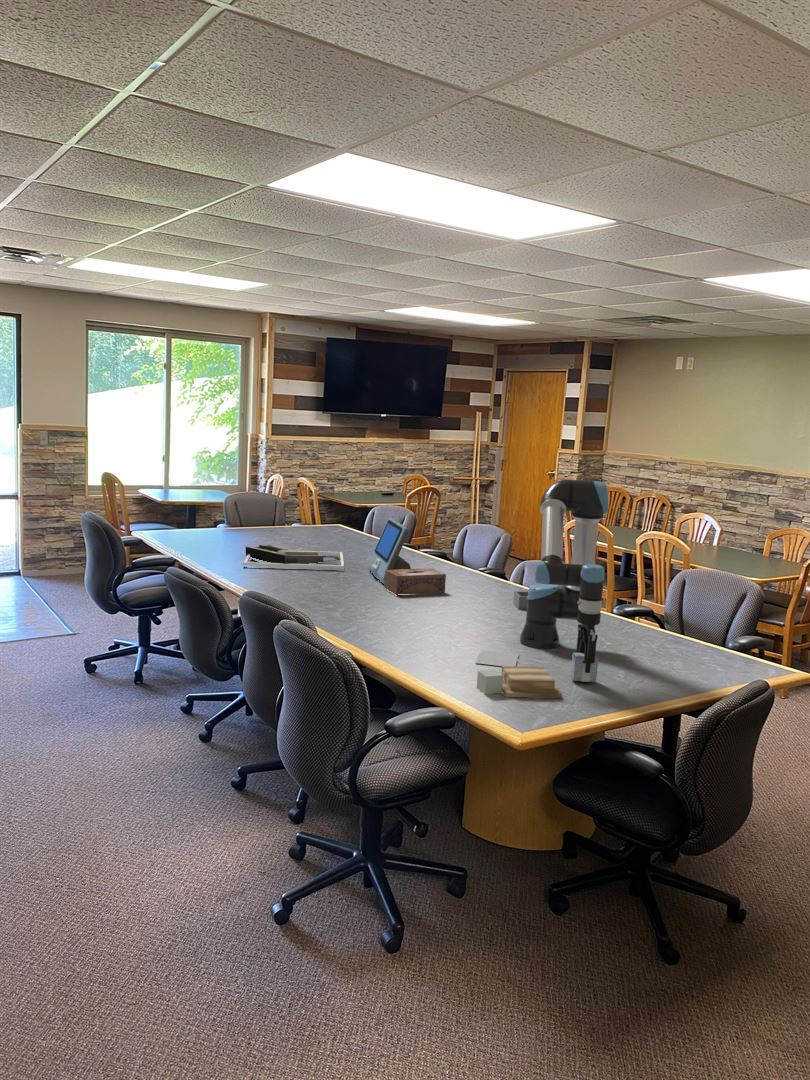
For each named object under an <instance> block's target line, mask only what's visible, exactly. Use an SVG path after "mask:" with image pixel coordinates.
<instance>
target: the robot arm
mask: <svg viewBox="0 0 810 1080" xmlns="http://www.w3.org/2000/svg"><path fill="white" fill-rule="evenodd" d="M539 504H540V505H539V511H540V513H541V514H542V522H541V524H542V525H541V526H542V527H541V549H540V550H541V554H540V555H541V557H540V561H537V562H536V563H535V567H534V582H535V583H537V584H532V585H533V586H531V585H530V586H531V587H530V586H529V587H528V591H527V592H528V597H527V599H528V604H527V610H526V614H525V615H526V617H525V618H526V619H525V623H524V625H523V628H522V631H521V633H520V636H519V642H520V644H522V645H524V646H527V647H531V648H536V649H538V648H539V649H554V648H557V647H559V645H560V636H559V632H558V631H559V630H558V628H557V619H559V620H572V621H577V622H578V624H577V641H576V649H575V650H576V651H575V653H584V661H582V663H583V669H582V680H581V681H580V682H582V683H584V682H586V683H587V682H589V683H590V682H591V681H590V676H591V665H592V663H594V662H595V654H596V651H597V642H598V641H597V640H598V635H597V634H596V629H595V626H598V625H600V624H601V618H602V616H601V615H602V614H601V612H602V610H603V609H602V607H603V593H604V592H603V591H604V582H605V579H606V576H605V571H606V570H605V567H604V566H602V565H601V564H595V561H596V560H595V559H596V551H597V542H598V533H599V532H598V531H599V522H600V521H602V520H603V519H604V515H605V514H608V512H609V493H608V487H607V484H606V483H605V482H602V481H597V480H584V479H583V480H581V479H580V480H579V479H566V478H565V479H561V480H557V481H556V482H554V483H552V484H551V485H550V486H549V487H548V488H547V489H546V490H545V492H543V494H542V496H541V499H540V503H539ZM567 511H568V512H571V517H572V518H573V519H574V520H575V521H574V529H573V530H574V531H573V542H572V551H571V552H572V553H571V563H564V520H565V519H564V515H565V514H566V512H567ZM560 586H564V588H561V587H560Z"/></svg>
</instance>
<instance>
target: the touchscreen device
mask: <svg viewBox="0 0 810 1080" xmlns="http://www.w3.org/2000/svg"><path fill="white" fill-rule="evenodd" d="M409 532H410V529H409V528H408V527H406V526H405V525H403V524H402V523H400V522H398V521H397V520H396V519H392V518H391V517H389V518H388V519H387V521H386V524H384V528H383V530H382V532H381V535H380V536H379V539H378V542H377V543H376V545H375V548H374V550H373V553H372V556H371V558H370V561H369V564H368V571H369V570H370V571H371V572H372V573H373V575H374V576H375V577H376V578H377V579H379V580H380V581H381V582H382V583H383V584H385V570H400V569H412V568H411V564H410V563H409V562H408V561H406V560H405V559H404V558H403V557H401V556H400V553H401V551H402V549H403V546H404V544H405V542H406V540H407V537H408V535H409ZM370 571H369V572H370ZM371 572H370V573H371ZM372 573H371V574H372ZM373 575H372V576H373ZM374 576H373V577H374ZM375 577H374V578H375ZM376 578H375V579H376ZM377 579H376V580H377ZM379 580H378V581H379ZM380 581H379V582H380ZM381 582H380V583H381ZM382 583H381V584H382ZM383 584H382V585H383Z"/></svg>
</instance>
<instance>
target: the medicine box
mask: <svg viewBox="0 0 810 1080" xmlns="http://www.w3.org/2000/svg"><path fill="white" fill-rule="evenodd" d="M582 661H584V653H577V652H572V656H571V666H570V678H571V680H572V681H573V682H582V681H581V680H582V669H583V663H582ZM598 665H599V657H598V656H597V654H596V653H595V662H594V663H592V665H591V676H590V682H597V677H598V667H599V666H598Z"/></svg>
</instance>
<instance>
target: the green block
mask: <svg viewBox="0 0 810 1080" xmlns="http://www.w3.org/2000/svg"><path fill="white" fill-rule="evenodd" d="M476 676H477V678H476V689H477V690H478V689H479V690H480V691H479V690H478V691H479V692H481V693H482V692H483V693H484V694H483V693H482V694H483V695H485V694H487V695H494V694H493V693H499V694H503V693H502V684H503V675H502V673H500V672H499V671H498V670H496V669H483V670H477V675H476Z"/></svg>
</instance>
